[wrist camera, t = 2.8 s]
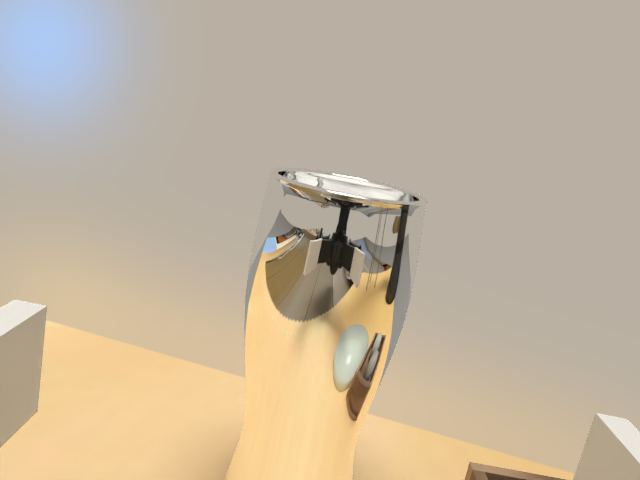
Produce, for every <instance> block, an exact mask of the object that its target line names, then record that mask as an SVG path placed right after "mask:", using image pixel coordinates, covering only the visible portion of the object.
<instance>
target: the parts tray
mask: <svg viewBox="0 0 640 480" xmlns="http://www.w3.org/2000/svg"><path fill="white" fill-rule="evenodd" d="M465 480H565V479H559V478H554V477H548V476H543V475H537V474H532V473H527V472H521V471H516V470H510V469H505V468H499V467H494V466H489V465H483V464H478V463H472V462H470V463H469V466H468V470H467V474H466V477H465Z"/></svg>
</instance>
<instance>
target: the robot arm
mask: <svg viewBox="0 0 640 480" xmlns="http://www.w3.org/2000/svg"><path fill="white" fill-rule="evenodd" d="M46 312H47V306H45V305H40V304H35V303H30V302H24V301H19V300H13V301H11V302H10V303H8V304H6V305H4V306H2V307H1V308H0V447H1V446H2V445H3V444H4V443H5V442H6V441H7V440H9V439H10V438H11V437H12V436H13V435H14V434H15V433H16V432H17V431H18V430H19V429H20V428H21V427H22V426H23V425H24V424H25V423H26V422H27V421H28V420H29V419H30V418H31V417H32V416H33V415H34V414H35V413H36V412H37V409H38V398H39V387H40V377H41V366H42V355H43V344H44V333H45V323H46ZM573 480H640V432H639V431H638V430H637V429H636V428H635V427H634V426H633V425H632V424H631V423H630V421H629V420H628V419H624V418H619V417H614V416H609V415H604V414H598V413H596V414H595V416H594V420H593V422H592V425H591V428H590V431H589V434H588V437H587V440H586V443H585V447H584V449H583V452H582V455H581V458H580V461H579V464H578V467H577V470H576V473H575V476H574V479H573Z"/></svg>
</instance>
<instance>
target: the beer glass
mask: <svg viewBox="0 0 640 480" xmlns="http://www.w3.org/2000/svg"><path fill="white" fill-rule="evenodd" d="M426 204H427V200H426V198H424V197H423V196H421V195H419V194H417V193H414V192H412V191H409V190H406V189H402V188H399V187H396V186H392V185H389V184H385V183H380V182H377V181H372V180H368V179H363V178H359V177H354V176H349V175H343V174H338V173H331V172H325V171H318V170H310V169H301V168H275V169H272V170H271V171H270V178H269V183H268V187H267V191H266V195H265V199H264V203H263V207H262V211H261V215H260V218H259V223H258V227H257V231H256V235H255V240H254V245H253V250H252V255H251V260H250V266H249V273H248V281H247V289H246V299H245V325H244V328H245V329H244V330H245V379H246V403H245V413H244V421H243V426H242V431H241V435H240V438H239V441H238V445H237V447H236V450H235V452H234V455H233V457H232V460H231V463H230V465H229V468H228V470H227V473H226V476H225V480H353V462H354V454H355V448H356V443H357V440H358V437H359V433H360V430H361V427H362V425H363V422H364V420H365V417H366V415H367V412H368V410H369V407H370V405H371V403H372V401H373V399H374V396H375V394H376V392H377V389H378V387H379V385H380V383H381V381H382V378H383V376H384V373H385V371H386V369H387V366H388V364H389V362H390V360H391V357H392V354H393V352H394V349H395V347H396V344H397V341H398V338H399V336H400V333H401V330H402V328H403V323H404V320H405V316H406V313H407V309H408V305H409V301H410V298H411V293H412V288H413V282H414V278H415V272H416V267H417V261H418V254H419V248H420V241H421V233H422V226H423V219H424V213H425V207H426Z"/></svg>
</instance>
